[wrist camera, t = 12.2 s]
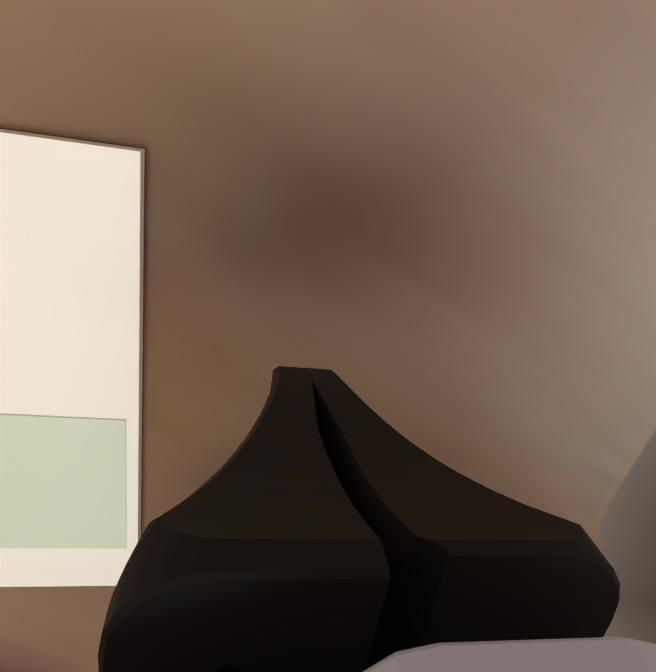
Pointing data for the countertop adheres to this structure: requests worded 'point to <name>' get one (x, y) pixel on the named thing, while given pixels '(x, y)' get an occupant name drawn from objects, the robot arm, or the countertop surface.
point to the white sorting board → (70, 359)
